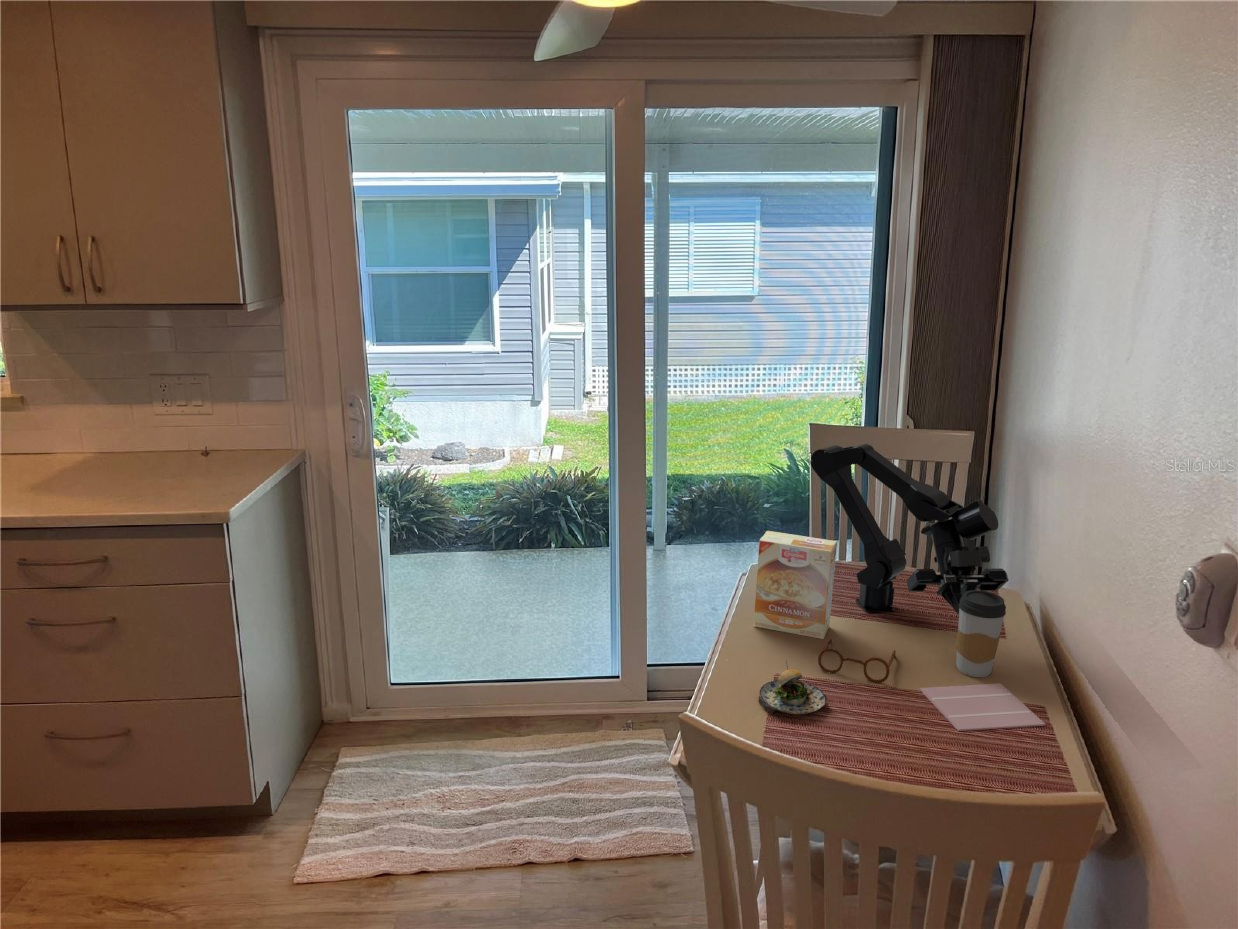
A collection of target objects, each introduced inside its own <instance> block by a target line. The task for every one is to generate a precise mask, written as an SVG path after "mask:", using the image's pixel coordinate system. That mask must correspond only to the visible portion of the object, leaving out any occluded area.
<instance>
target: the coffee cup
mask: <svg viewBox="0 0 1238 929" xmlns="http://www.w3.org/2000/svg"><path fill="white" fill-rule="evenodd" d="M959 608H960V609H959V615H958V626H957V636H956V638H957V639H956V660H955V662H956V664H955V665H956V667H957V670H958V671H959V672H960V673H962V674H964V675H966V676H969V677H973V678H985V677H988V676H989V675H990V674H991V673H992V670H993V666H994V661H995V658H996V656H997V650H998V646H999V642H1000V637H1001V630H1002V626H1003V621H1004V618H1005V616H1006V614H1007V611H1006V609H1007V605H1006V604H1005V599H1004V598H1003V597H1002V596H1000V595H999V594H996V593H994V592H992V591H981V590H980V589H977V590H971V591H967V592H965V593H964V594H963V597H961V599H960V603H959Z"/></svg>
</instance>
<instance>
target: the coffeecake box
mask: <svg viewBox="0 0 1238 929" xmlns="http://www.w3.org/2000/svg"><path fill="white" fill-rule="evenodd" d="M758 541H759V542H758V543H759V544H758V552H757V553H758V554H757V566H756V567H757V570H756V583H755V598H754V612H753V613H754V614H753V627H754V628H755V627H756V628H760V629H765V630H771V631H777V632H783V633H787V634H793V635H799V636H804V637H809V638H816V639H821V640H824V639H825V637H826V634H827V632H828V630H829V627H830V623H831V611H832V601H833V591H834V578H835V568H836V559H837V558H836V557H837V546H838V541H837V540H831V539H824V538H819V537H818V538H817V537H813V536H804V535H800V534H799V535H798V534H794V533H793V534H791V533H785V532H778V531H771V530H766V531H765V533H764V534H763V536H761V537H760V539H759V540H758Z"/></svg>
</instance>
